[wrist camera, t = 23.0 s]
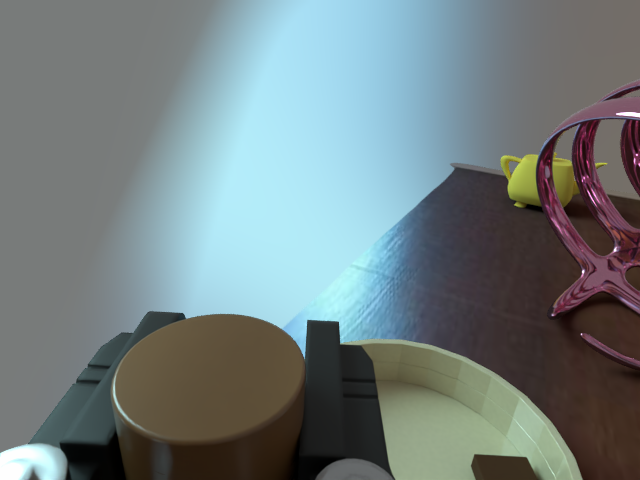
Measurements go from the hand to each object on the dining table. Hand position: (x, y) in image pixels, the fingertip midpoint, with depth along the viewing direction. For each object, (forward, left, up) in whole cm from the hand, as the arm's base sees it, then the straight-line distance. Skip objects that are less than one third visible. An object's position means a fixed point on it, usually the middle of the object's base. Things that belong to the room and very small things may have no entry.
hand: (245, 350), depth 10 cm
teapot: (+29, +82, -20) cm, 89 cm away
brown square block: (+12, +14, -19) cm, 26 cm away
